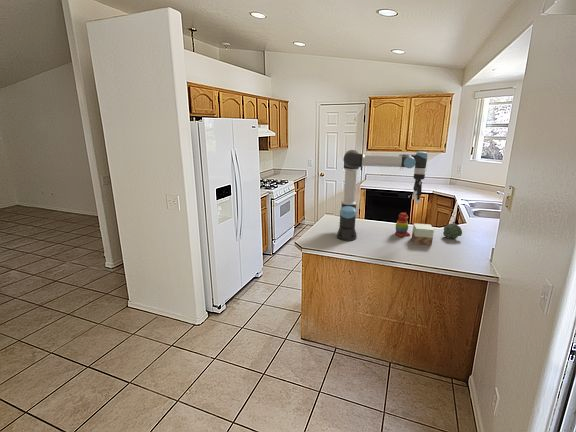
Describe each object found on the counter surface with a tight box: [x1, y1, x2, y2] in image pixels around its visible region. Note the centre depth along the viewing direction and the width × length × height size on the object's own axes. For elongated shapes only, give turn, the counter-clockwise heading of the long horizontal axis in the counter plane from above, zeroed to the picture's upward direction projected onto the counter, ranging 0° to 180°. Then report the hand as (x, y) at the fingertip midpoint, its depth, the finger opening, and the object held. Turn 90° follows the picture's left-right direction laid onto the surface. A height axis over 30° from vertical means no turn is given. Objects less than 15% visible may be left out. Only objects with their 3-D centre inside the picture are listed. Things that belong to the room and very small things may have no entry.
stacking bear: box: [394, 211, 411, 238], centre depth 243 cm, size 11×10×18 cm
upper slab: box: [412, 223, 435, 239], centre depth 230 cm, size 12×12×6 cm
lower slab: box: [411, 231, 434, 246], centre depth 232 cm, size 12×12×6 cm
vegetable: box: [443, 223, 463, 240], centre depth 239 cm, size 12×13×15 cm
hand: (415, 201), depth 234 cm, fingers open, 13 cm apart
